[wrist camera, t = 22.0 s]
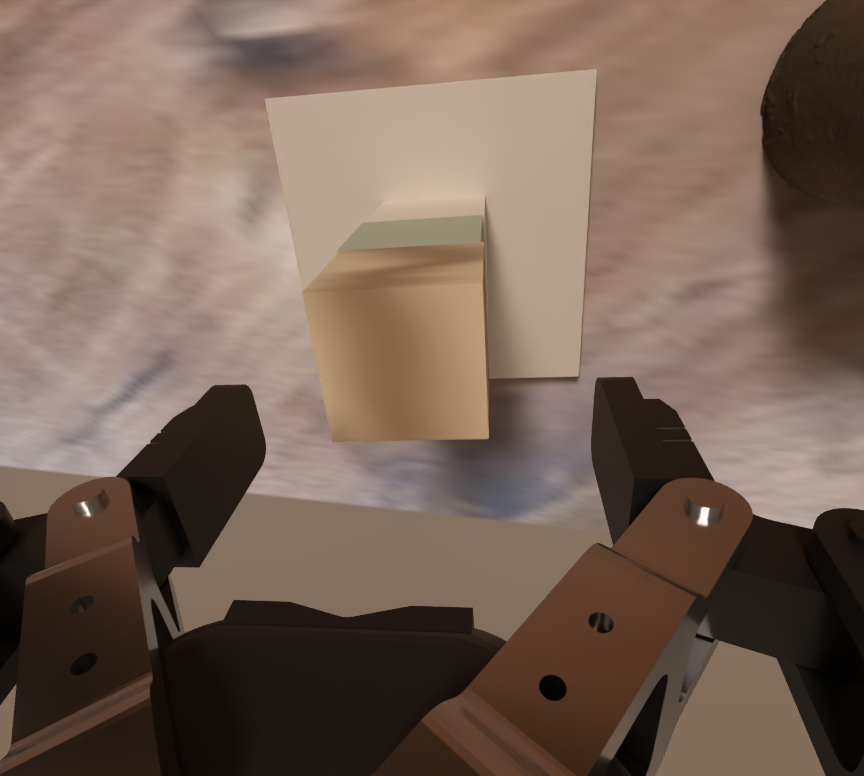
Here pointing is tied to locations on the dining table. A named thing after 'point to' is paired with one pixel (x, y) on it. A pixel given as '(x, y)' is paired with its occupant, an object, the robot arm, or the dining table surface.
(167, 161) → the dining table surface
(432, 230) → the sage block
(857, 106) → the pillar candle
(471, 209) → the beige block
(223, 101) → the dining table surface
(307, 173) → the baseplate
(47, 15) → the dining table surface
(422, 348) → the maple block
